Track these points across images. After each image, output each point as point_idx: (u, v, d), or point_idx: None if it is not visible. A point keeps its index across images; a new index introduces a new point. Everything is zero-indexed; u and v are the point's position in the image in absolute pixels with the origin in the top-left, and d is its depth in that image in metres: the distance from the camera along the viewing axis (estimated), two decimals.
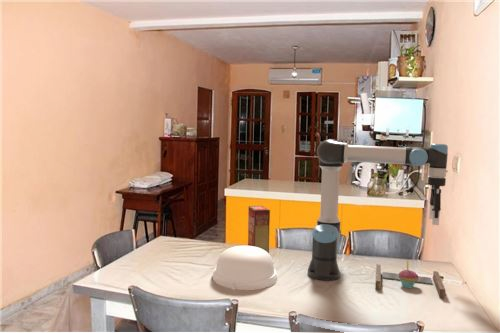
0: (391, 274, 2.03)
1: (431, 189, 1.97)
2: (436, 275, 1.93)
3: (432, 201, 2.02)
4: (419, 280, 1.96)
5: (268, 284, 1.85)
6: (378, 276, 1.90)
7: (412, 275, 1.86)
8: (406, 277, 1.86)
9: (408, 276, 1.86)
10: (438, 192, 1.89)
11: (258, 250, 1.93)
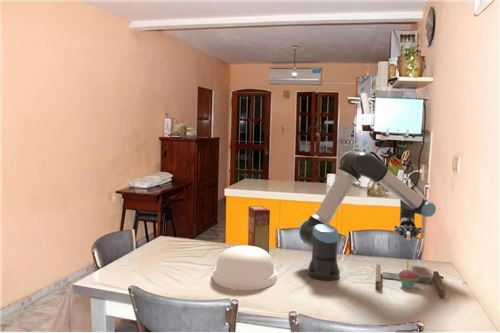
0: (391, 274, 2.03)
1: (405, 224, 2.12)
2: (436, 275, 1.93)
3: (406, 231, 2.05)
4: (419, 280, 1.96)
5: (269, 284, 1.85)
6: (378, 276, 1.90)
7: (412, 275, 1.86)
8: (406, 277, 1.86)
9: (408, 276, 1.86)
10: (420, 231, 2.08)
11: (258, 250, 1.93)
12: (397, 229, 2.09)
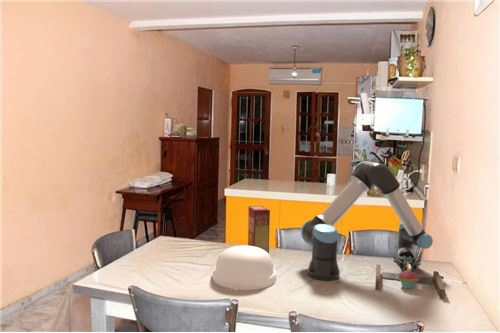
0: (391, 274, 2.03)
1: (404, 255, 2.10)
2: (436, 275, 1.93)
3: None
4: (419, 280, 1.96)
5: (269, 283, 1.86)
6: (378, 276, 1.90)
7: (412, 276, 1.85)
8: (406, 278, 1.85)
9: (408, 276, 1.85)
10: (419, 263, 2.05)
11: (258, 250, 1.93)
12: (396, 260, 2.06)
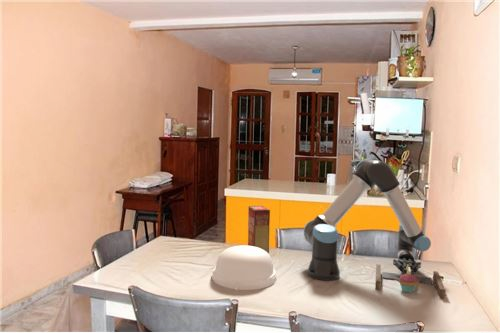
0: (391, 274, 2.03)
1: (404, 258, 2.05)
2: (436, 275, 1.93)
3: (406, 266, 1.97)
4: (419, 280, 1.96)
5: (270, 283, 1.86)
6: (378, 276, 1.90)
7: (412, 279, 1.81)
8: (406, 281, 1.81)
9: (408, 280, 1.81)
10: (419, 266, 2.01)
11: (257, 249, 1.93)
12: (396, 263, 2.01)
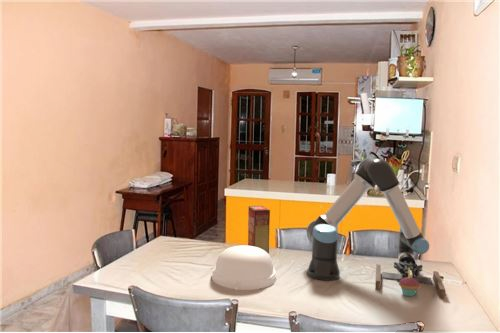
0: (391, 274, 2.03)
1: (405, 261, 2.01)
2: (436, 275, 1.93)
3: None
4: (419, 280, 1.96)
5: (270, 283, 1.86)
6: (378, 276, 1.90)
7: (413, 283, 1.77)
8: (406, 285, 1.77)
9: (408, 283, 1.77)
10: (420, 269, 1.96)
11: (257, 249, 1.94)
12: (397, 266, 1.97)
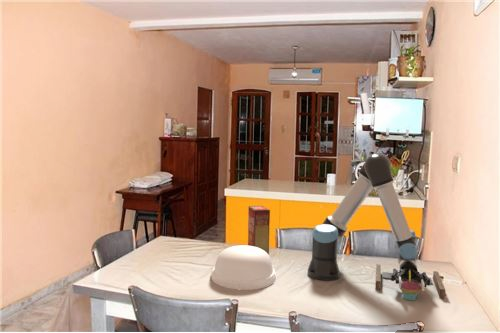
0: (391, 274, 2.03)
1: (407, 268, 1.87)
2: (436, 275, 1.93)
3: (401, 276, 1.80)
4: None
5: (271, 282, 1.87)
6: (378, 276, 1.90)
7: (414, 286, 1.73)
8: (407, 288, 1.73)
9: (409, 287, 1.73)
10: None
11: (257, 249, 1.94)
12: None
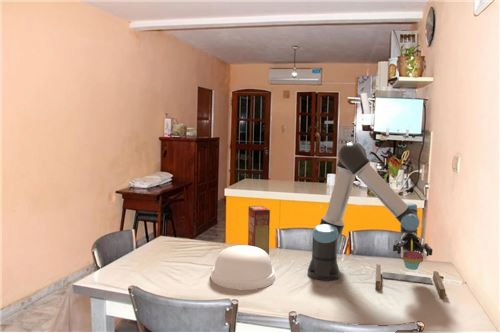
0: (391, 274, 2.03)
1: (409, 240, 1.85)
2: (436, 275, 1.93)
3: (402, 246, 1.79)
4: (419, 280, 1.96)
5: (271, 282, 1.88)
6: (378, 276, 1.90)
7: (416, 256, 1.71)
8: (409, 258, 1.71)
9: (411, 256, 1.71)
10: None
11: (256, 249, 1.94)
12: None
